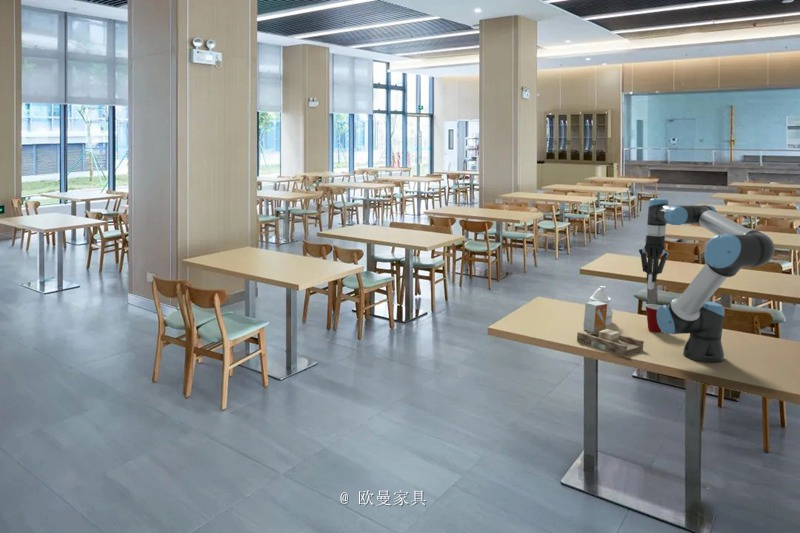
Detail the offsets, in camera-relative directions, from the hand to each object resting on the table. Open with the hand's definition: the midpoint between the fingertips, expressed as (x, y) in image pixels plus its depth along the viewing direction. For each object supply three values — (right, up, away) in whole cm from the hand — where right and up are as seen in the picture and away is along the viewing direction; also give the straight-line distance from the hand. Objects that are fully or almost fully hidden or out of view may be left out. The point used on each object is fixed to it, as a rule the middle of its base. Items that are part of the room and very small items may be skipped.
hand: (650, 288), depth 276 cm
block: (-18, -22, -1) cm, 29 cm away
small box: (-18, -20, +22) cm, 35 cm away
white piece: (-12, -17, +36) cm, 42 cm away
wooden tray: (-18, -24, -1) cm, 30 cm away
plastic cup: (+11, -21, +22) cm, 32 cm away
